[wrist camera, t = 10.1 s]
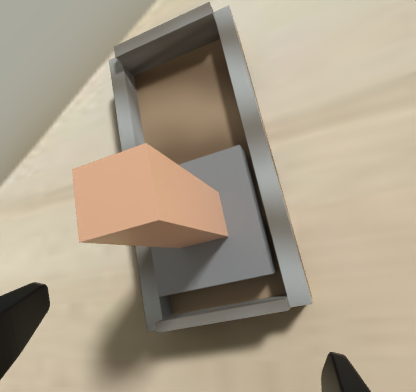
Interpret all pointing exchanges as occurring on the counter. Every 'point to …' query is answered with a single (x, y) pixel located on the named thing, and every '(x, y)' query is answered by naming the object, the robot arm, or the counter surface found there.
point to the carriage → (177, 215)
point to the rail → (204, 154)
